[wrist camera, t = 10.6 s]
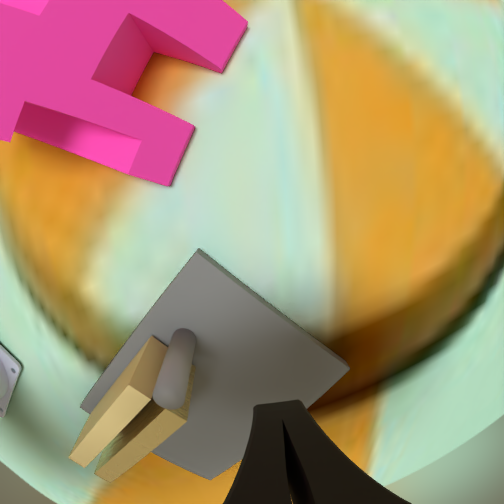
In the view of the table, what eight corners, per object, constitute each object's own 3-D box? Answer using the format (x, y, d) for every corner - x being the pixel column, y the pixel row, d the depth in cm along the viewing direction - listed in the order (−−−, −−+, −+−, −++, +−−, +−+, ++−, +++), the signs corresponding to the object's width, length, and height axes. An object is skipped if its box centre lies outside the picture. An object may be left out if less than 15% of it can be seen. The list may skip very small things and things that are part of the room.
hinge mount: (210, 471, 21) (208, 531, 15) (84, 399, 19) (52, 456, 13) (345, 360, 19) (382, 422, 13) (198, 248, 17) (180, 286, 11)
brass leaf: (179, 355, 17) (165, 408, 12) (195, 366, 17) (187, 421, 13) (112, 427, 18) (94, 473, 14) (126, 435, 19) (110, 482, 14)
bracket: (15, 127, 15) (-101, 113, 5) (84, -7, 13) (13, -85, 3) (170, 185, 16) (86, 196, 6) (247, 28, 14) (263, -97, 4)
